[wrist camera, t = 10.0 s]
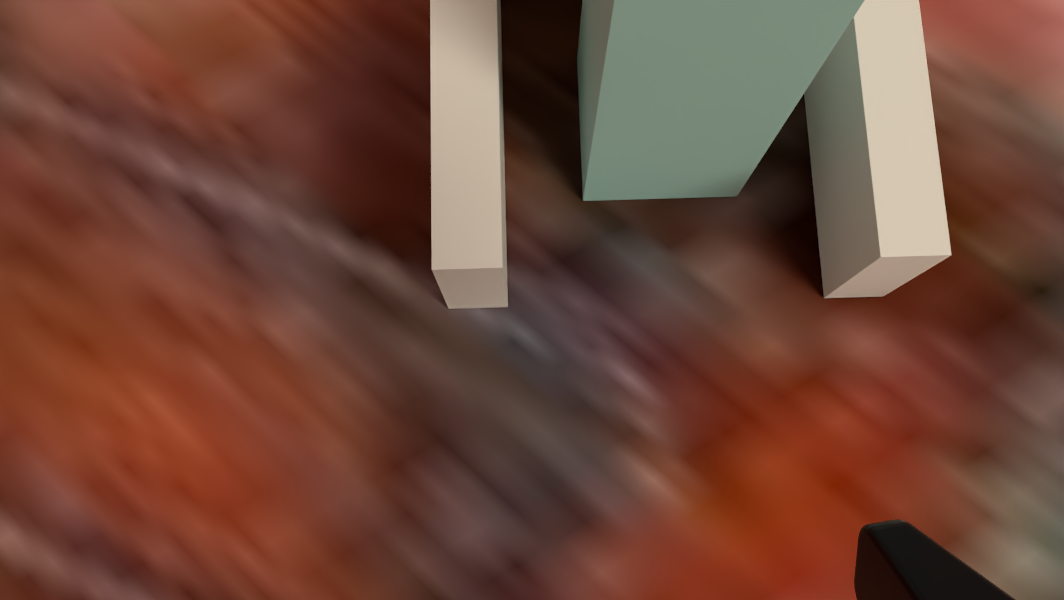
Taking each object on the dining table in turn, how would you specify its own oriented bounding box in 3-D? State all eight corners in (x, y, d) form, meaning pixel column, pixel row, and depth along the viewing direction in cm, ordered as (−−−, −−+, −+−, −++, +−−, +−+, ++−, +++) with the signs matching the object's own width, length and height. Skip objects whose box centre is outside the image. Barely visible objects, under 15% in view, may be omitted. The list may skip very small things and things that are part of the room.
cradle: (883, 296, 24) (951, 255, 20) (448, 308, 24) (431, 269, 20) (842, -66, 26) (897, -167, 22) (445, -55, 26) (429, -155, 22)
